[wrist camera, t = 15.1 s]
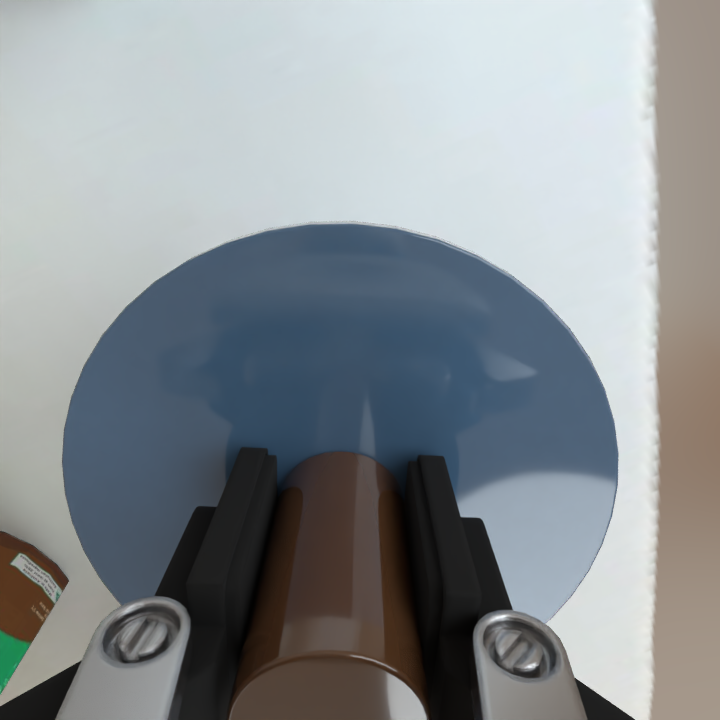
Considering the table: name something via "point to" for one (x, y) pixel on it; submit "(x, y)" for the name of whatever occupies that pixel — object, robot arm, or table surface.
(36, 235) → the table surface
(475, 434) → the lid
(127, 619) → the robot arm
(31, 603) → the food container
